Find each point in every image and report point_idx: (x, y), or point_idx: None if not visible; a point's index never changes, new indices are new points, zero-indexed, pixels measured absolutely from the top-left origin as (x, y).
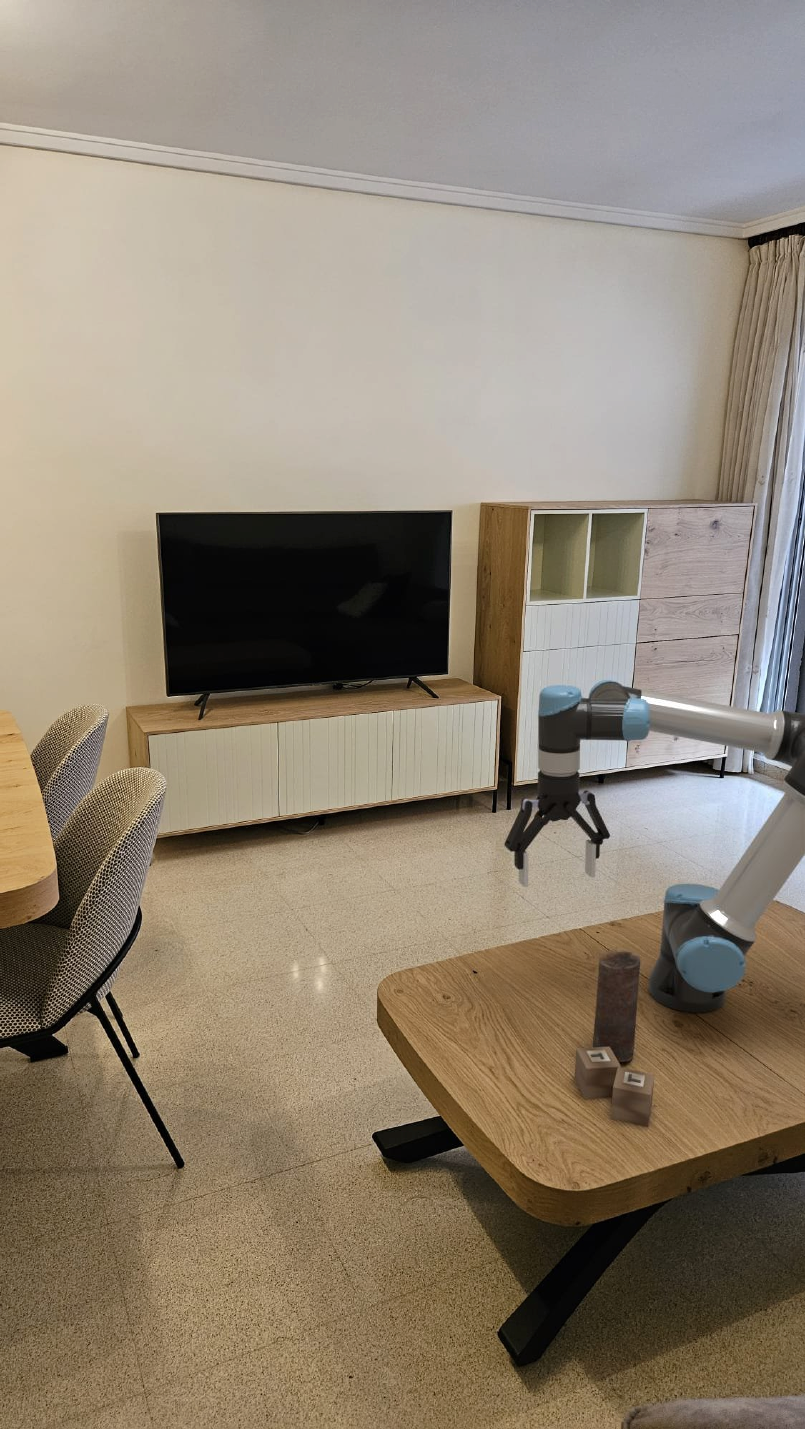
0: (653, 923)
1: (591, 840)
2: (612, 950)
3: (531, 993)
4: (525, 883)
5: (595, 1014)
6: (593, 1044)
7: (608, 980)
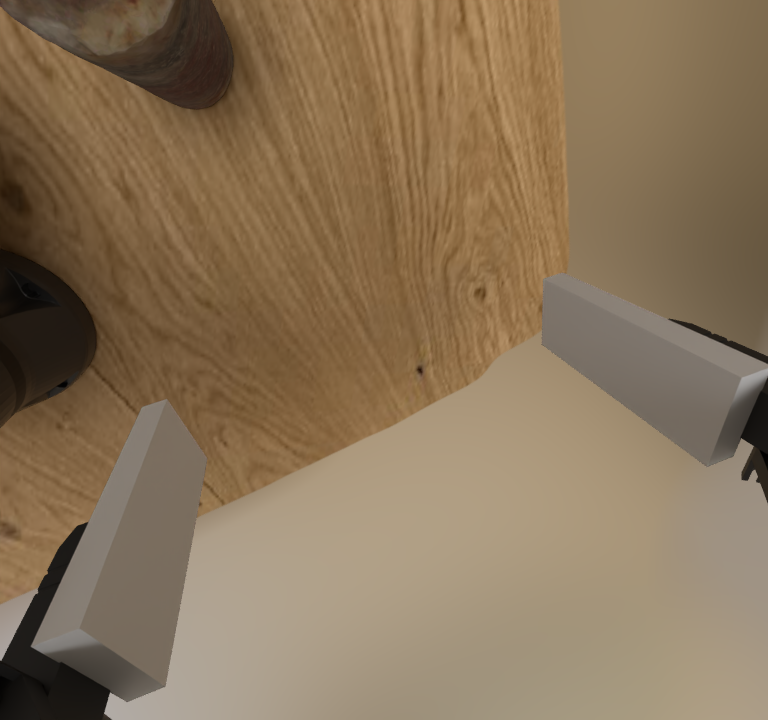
0: None
1: (96, 694)
2: (107, 45)
3: (337, 310)
4: (571, 279)
5: (219, 37)
6: (231, 52)
7: None
